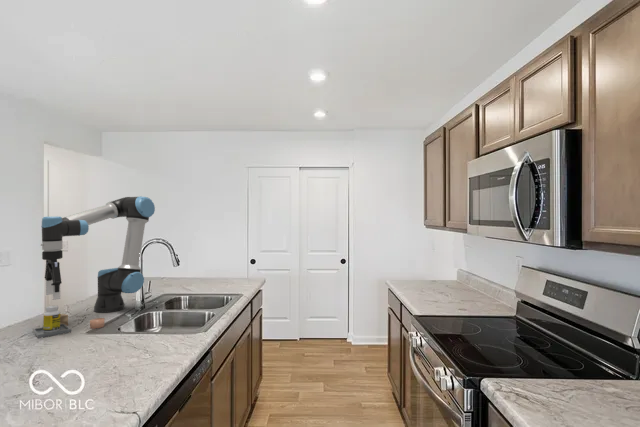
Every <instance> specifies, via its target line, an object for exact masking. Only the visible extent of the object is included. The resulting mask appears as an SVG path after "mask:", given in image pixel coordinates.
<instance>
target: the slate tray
mask: <svg viewBox="0 0 640 427" xmlns="http://www.w3.org/2000/svg"><path fill="white" fill-rule="evenodd" d="M68 332H70V333H71V332H72V329H71V328H70V327H69V325H65V324H60V330H59V331H55V332H50V333H45V332H43V326H42V327H38V328H32V333H33V334H34V336H35V337H36V338H37V339H42V337H43V338H48V336H49V337H53V335H54V336H58V334H59V335H63V333H65V334H69V333H68Z"/></svg>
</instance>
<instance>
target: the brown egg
mask: <svg viewBox="0 0 640 427" xmlns="http://www.w3.org/2000/svg"><path fill="white" fill-rule="evenodd" d="M105 320H106V319H105V318H104V317H96V318H92V319H90V320H89V328H90V329H91V330H96V328H97V329H101V328H104V327H105Z"/></svg>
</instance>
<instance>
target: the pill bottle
mask: <svg viewBox="0 0 640 427" xmlns="http://www.w3.org/2000/svg"><path fill="white" fill-rule="evenodd" d="M60 314H61V312H60V311H59V305H49V306H46V307H45V312H44V313H43V324H42V327H43V332H45V333H50V332H55V331H59V330H60Z"/></svg>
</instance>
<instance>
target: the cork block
mask: <svg viewBox="0 0 640 427" xmlns="http://www.w3.org/2000/svg"><path fill="white" fill-rule="evenodd" d="M60 324H65V325H66V326H69V314H66V313H60Z"/></svg>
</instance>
